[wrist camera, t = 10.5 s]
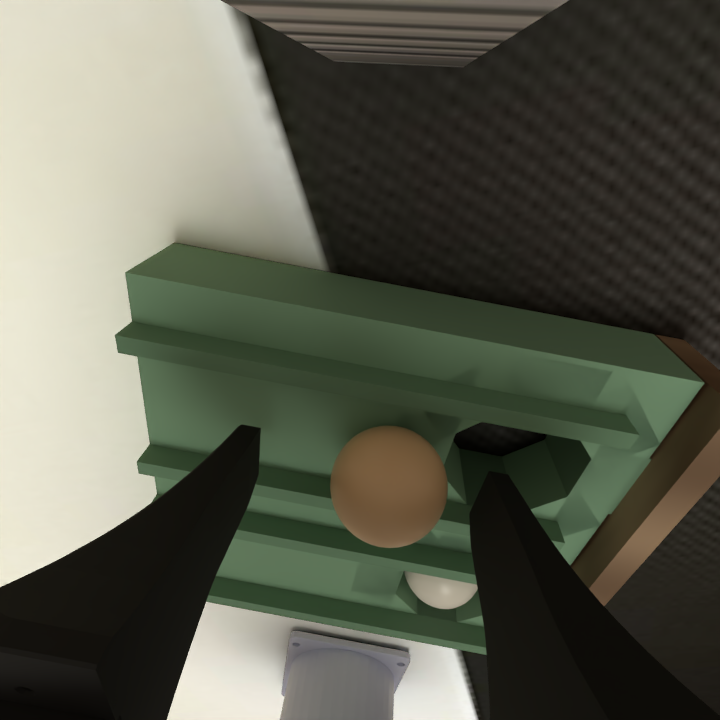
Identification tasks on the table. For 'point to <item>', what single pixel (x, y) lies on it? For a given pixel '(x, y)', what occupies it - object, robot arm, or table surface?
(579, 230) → the table surface
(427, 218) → the table surface
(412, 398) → the green egg tray
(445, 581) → the ball white
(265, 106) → the table surface
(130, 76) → the table surface
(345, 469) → the ball orange
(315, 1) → the can
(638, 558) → the backstop
